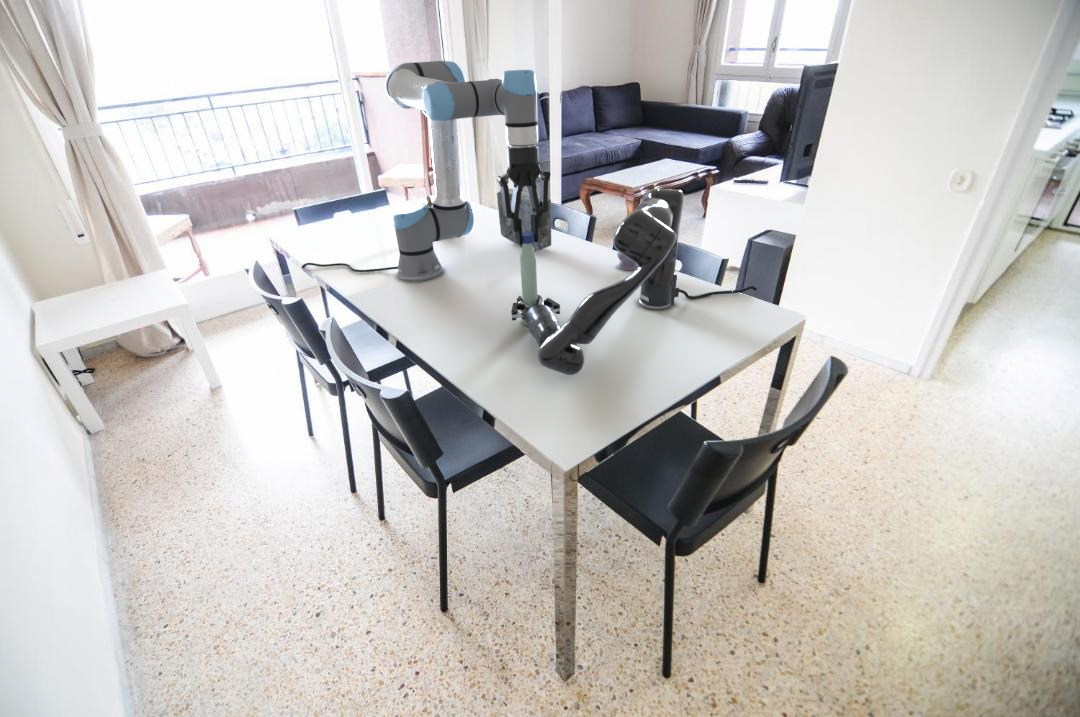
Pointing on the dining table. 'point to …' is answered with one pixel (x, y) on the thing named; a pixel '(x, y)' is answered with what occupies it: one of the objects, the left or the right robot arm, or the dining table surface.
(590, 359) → the dining table surface
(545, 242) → the concrete block
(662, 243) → the right robot arm
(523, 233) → the cap
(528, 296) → the bottle
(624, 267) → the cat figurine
